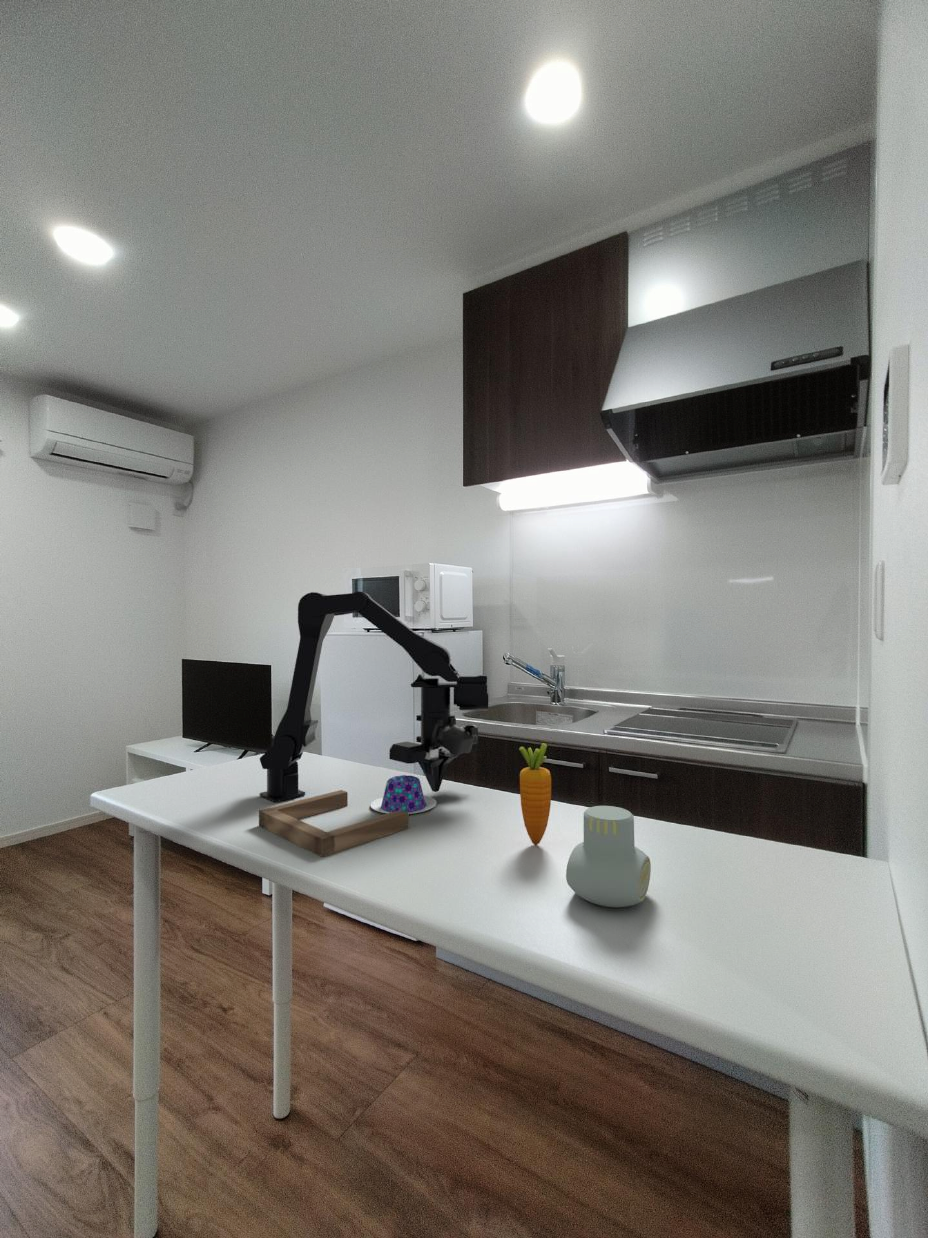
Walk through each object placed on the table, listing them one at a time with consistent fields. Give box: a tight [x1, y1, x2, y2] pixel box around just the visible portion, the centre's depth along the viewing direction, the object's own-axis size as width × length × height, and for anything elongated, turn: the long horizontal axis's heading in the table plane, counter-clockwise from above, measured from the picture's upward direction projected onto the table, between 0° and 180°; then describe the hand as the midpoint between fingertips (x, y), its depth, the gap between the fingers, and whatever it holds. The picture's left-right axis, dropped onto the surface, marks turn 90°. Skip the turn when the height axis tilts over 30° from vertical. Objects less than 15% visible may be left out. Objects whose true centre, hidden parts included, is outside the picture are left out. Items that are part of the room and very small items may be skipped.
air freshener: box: [565, 805, 652, 909], centre depth 68 cm, size 11×8×10 cm
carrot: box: [518, 742, 552, 846], centre depth 84 cm, size 5×5×15 cm
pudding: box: [370, 774, 437, 815], centre depth 103 cm, size 12×12×5 cm
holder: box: [258, 789, 410, 858], centre depth 92 cm, size 19×16×2 cm
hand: (435, 791), depth 109 cm, fingers closed
